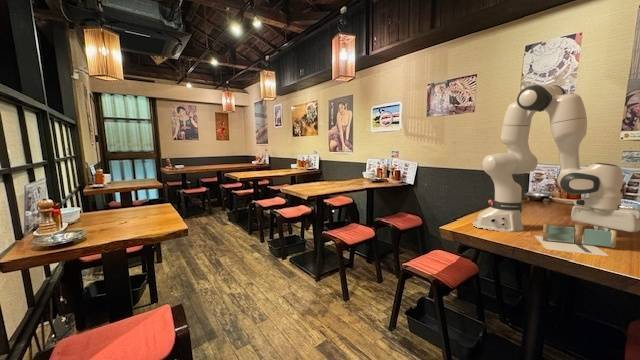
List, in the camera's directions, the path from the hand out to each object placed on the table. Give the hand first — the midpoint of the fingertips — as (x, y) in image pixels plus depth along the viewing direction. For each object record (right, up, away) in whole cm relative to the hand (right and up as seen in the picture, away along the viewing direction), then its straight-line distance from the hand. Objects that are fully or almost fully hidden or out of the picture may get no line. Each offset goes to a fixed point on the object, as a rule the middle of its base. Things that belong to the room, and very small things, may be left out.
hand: (602, 236), depth 105 cm
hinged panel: (-2, -3, -1) cm, 4 cm away
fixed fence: (-11, -4, +6) cm, 13 cm away
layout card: (-11, -4, +3) cm, 13 cm away
